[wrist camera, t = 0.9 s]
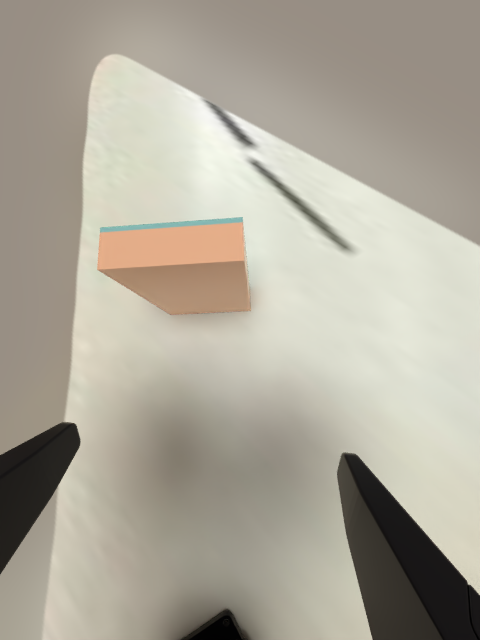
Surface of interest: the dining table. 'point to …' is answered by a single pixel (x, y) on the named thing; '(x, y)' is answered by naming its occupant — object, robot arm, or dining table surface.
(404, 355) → the dining table surface
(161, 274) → the glazed tile
